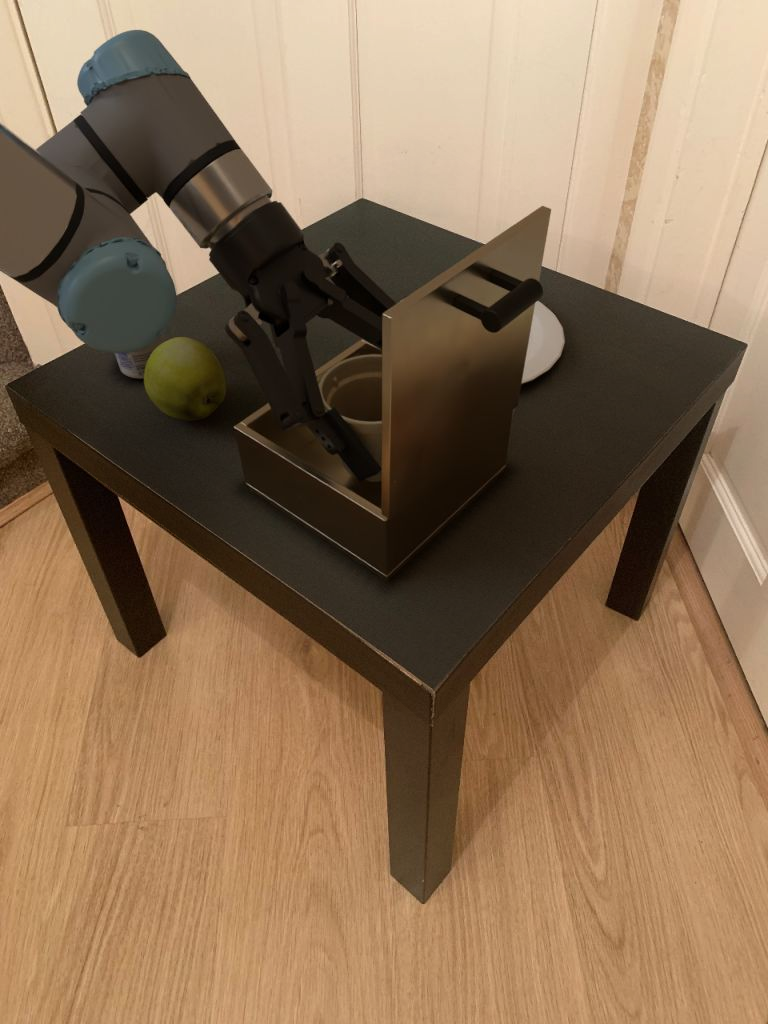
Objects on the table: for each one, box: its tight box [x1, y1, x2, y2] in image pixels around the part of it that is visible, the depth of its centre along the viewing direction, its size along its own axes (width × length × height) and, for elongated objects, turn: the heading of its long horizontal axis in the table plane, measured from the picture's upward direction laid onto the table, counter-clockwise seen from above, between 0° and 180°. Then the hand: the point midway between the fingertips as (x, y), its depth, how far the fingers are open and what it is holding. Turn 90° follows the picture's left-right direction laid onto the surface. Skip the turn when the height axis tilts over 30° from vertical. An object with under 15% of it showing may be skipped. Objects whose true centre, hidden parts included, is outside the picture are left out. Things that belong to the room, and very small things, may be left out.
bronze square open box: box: [233, 338, 514, 582], centre depth 73 cm, size 18×18×8 cm
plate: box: [400, 299, 566, 386], centre depth 90 cm, size 21×21×2 cm
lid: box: [381, 205, 552, 519], centre depth 58 cm, size 18×18×5 cm
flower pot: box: [319, 354, 382, 482], centre depth 71 cm, size 9×9×9 cm
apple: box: [143, 336, 227, 421], centre depth 81 cm, size 8×9×8 cm
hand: (403, 441), depth 70 cm, fingers closed on flower pot, 9 cm apart
